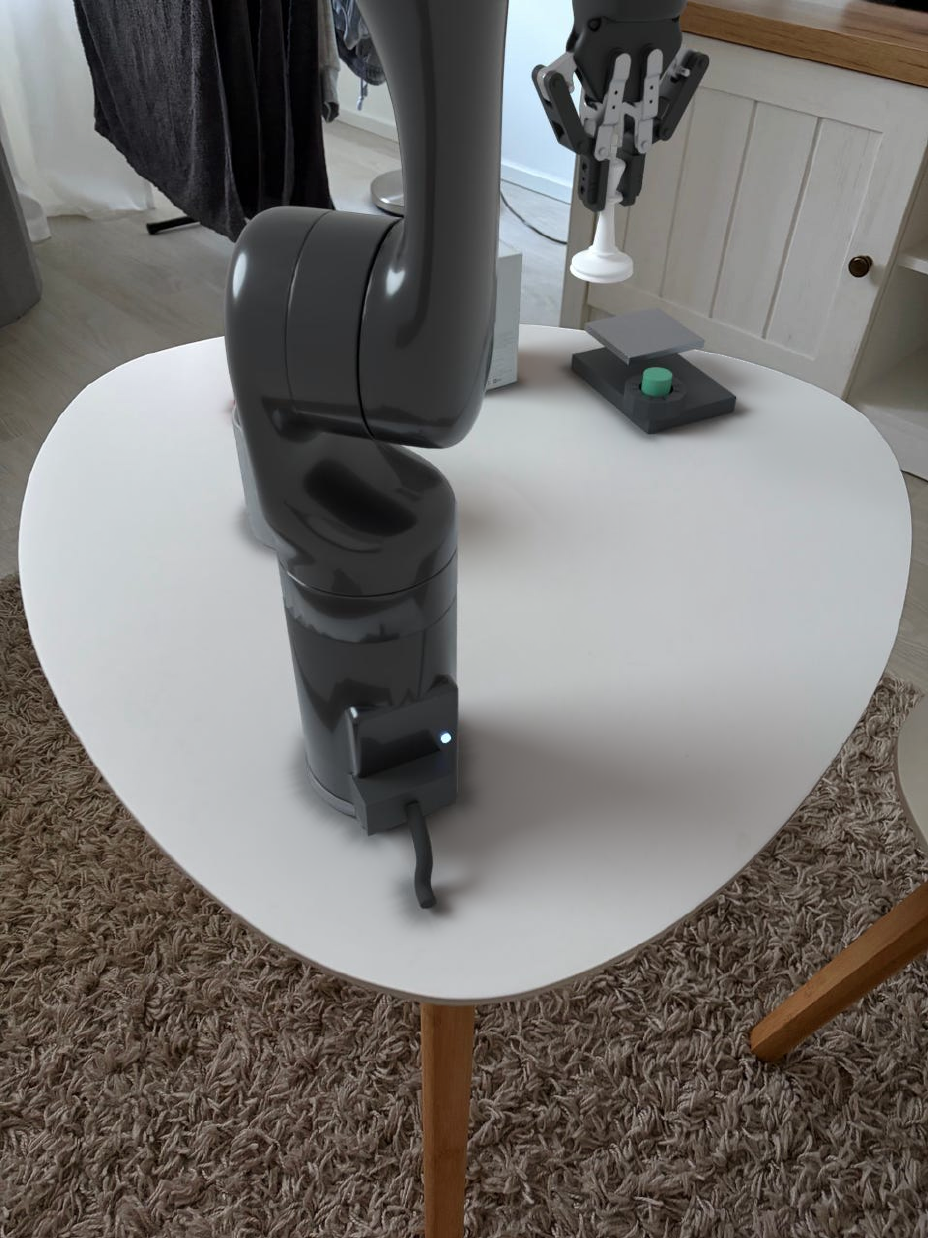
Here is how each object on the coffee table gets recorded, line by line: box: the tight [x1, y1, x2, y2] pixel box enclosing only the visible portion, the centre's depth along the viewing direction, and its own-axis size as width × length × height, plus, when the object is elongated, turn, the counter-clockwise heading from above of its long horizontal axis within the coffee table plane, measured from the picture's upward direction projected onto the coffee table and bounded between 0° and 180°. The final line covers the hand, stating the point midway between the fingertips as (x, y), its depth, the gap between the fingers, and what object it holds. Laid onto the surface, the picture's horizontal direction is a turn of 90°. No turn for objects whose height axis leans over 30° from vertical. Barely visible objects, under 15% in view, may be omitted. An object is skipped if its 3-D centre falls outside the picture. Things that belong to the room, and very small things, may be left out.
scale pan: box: [583, 307, 706, 365], centre depth 96 cm, size 8×9×1 cm
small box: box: [486, 238, 523, 391], centre depth 95 cm, size 8×6×13 cm
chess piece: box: [569, 132, 634, 284], centre depth 74 cm, size 5×5×10 cm
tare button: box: [641, 367, 672, 396], centre depth 90 cm, size 3×3×2 cm
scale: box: [570, 346, 738, 435], centre depth 95 cm, size 15×11×4 cm
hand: (608, 204), depth 74 cm, fingers closed on chess piece
